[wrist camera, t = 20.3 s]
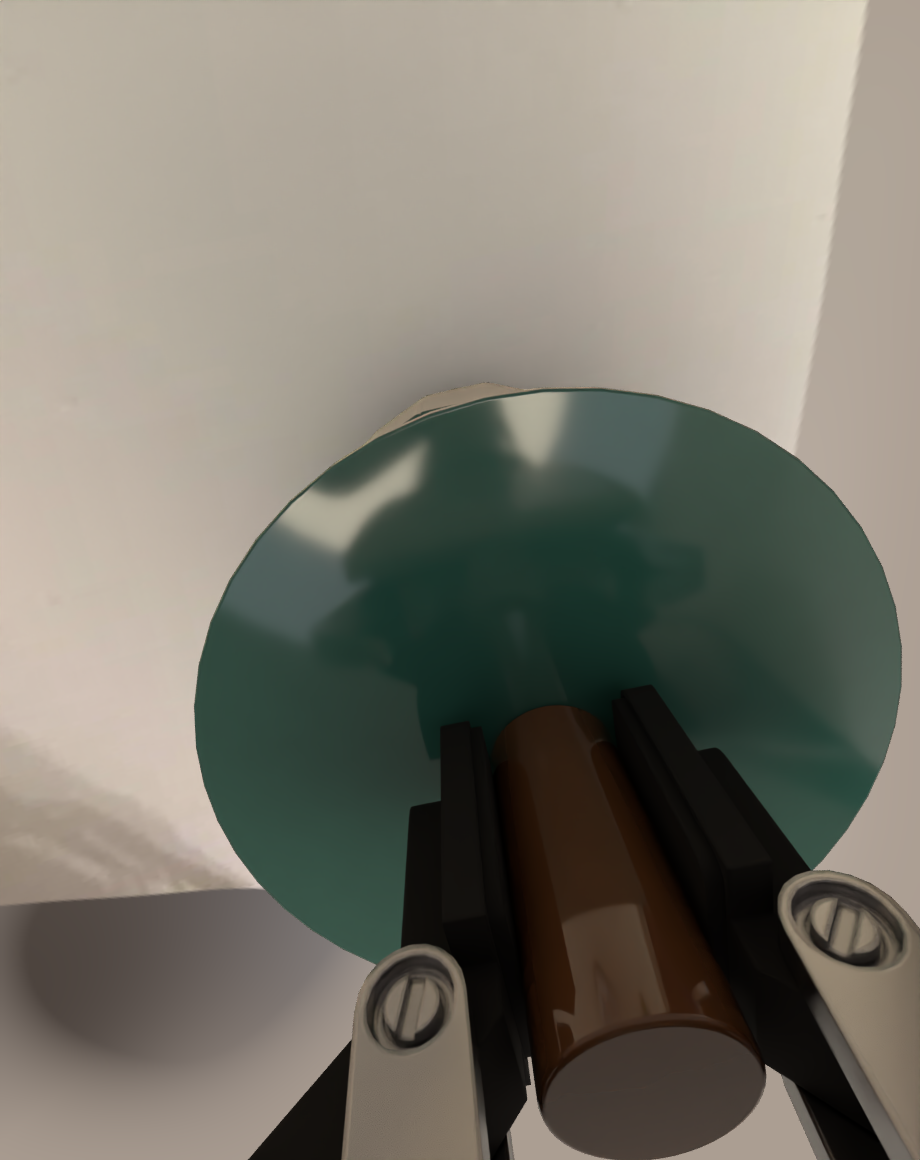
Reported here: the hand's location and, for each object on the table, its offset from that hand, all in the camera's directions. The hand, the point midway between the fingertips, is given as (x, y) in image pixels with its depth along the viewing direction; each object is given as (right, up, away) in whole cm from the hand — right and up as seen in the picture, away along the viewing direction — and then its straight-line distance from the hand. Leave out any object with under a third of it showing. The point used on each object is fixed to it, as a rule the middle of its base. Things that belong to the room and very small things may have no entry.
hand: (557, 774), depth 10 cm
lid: (0, 0, +1) cm, 1 cm away
